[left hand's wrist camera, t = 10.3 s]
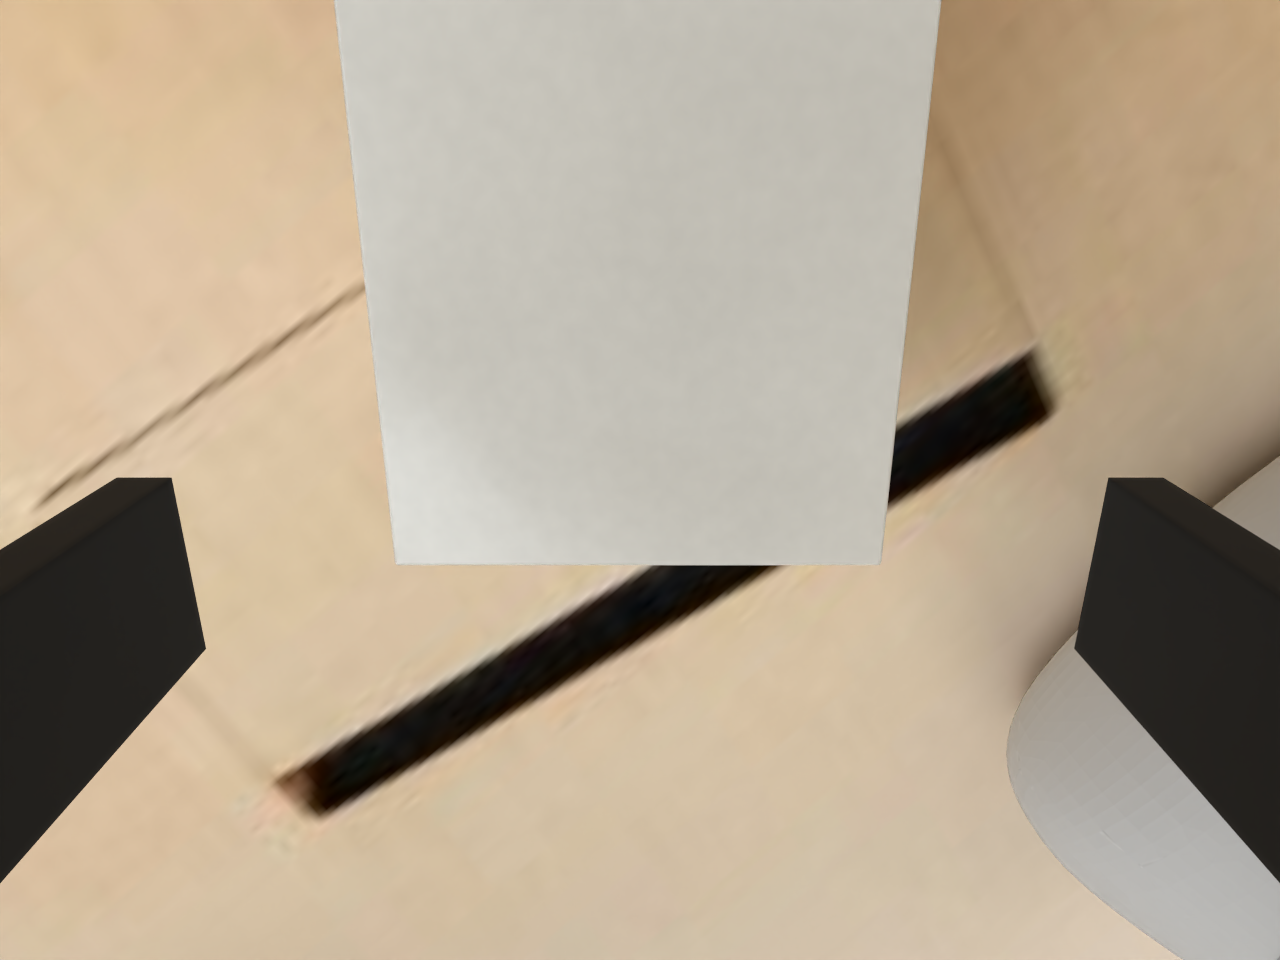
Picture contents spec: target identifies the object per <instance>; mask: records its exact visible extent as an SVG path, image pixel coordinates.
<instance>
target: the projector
mask: <svg viewBox="0 0 1280 960" xmlns="http://www.w3.org/2000/svg"><path fill="white" fill-rule="evenodd" d="M1212 508H1213V509H1215V510H1216V511H1218V512H1219V513H1221V514H1223V515H1224V516H1226V517H1227V518H1229V519H1231V520H1232V521H1234V522H1236V523H1237V524H1239V525H1240V526H1242V527H1244V528H1245V529H1247V530H1248V531H1250V532H1252V533H1253V534H1255V535H1257V536H1258V537H1260V538H1261V539H1263V540H1265V541H1266V542H1268V543H1269V544H1271V545H1273V546H1274V547H1276V548H1278V549H1279V550H1280V456H1279V457H1278V458H1276V459H1275V460H1273V461H1272V462H1271V463H1269V464H1268V465H1267V466H1265V467H1264V468H1263V469H1261V470H1260V471H1259V472H1257V473H1256V474H1255V475H1253V476H1252V477H1251V478H1249V479H1248V480H1247V481H1245V482H1244V483H1243V484H1241V485H1240V486H1239V487H1237V488H1236V489H1235V490H1234V491H1232V492H1231V493H1230V494H1229V495H1227V496H1226V497H1225V498H1224V499H1222V500H1221V501H1220V502H1219V503H1217V504H1216V505H1215V506H1214V507H1212ZM1077 632H1078V630H1077V631H1076V632H1075V633H1074V634H1073V635H1072V636H1071V637H1070V638H1069V640H1068V641H1067V642H1066V643H1065V644H1064V645H1063V646H1062V647H1061V648H1060V649H1059V650H1058V651H1057V653H1056V654H1055V655H1054V656H1053V657H1052V659H1051V660H1050V661H1049V662H1048V664H1047V665H1046V666H1045V667H1044V668H1043V670H1042V671H1041V672H1040V673H1039V675H1038V676H1037V677H1036V679H1035V680H1034V682H1033V683H1032V685H1031V686H1030V688H1029V689H1028V691H1027V692H1026V694H1025V695H1024V697H1023V699H1022V701H1021V703H1020V705H1019V707H1018V709H1017V711H1016V713H1015V715H1014V718H1013V721H1012V724H1011V726H1010V730H1009V736H1008V742H1007V767H1008V772H1009V777H1010V781H1011V785H1012V787H1013V790H1014V793H1015V795H1016V798H1017V800H1018V802H1019V804H1020V806H1021V808H1022V809H1023V811H1024V813H1025V815H1026V817H1027V818H1028V820H1029V822H1030V823H1031V825H1032V826H1033V828H1034V829H1035V831H1036V832H1037V834H1038V835H1039V837H1040V838H1041V840H1042V841H1043V842H1044V844H1045V845H1046V846H1047V847H1048V848H1049V850H1050V851H1051V852H1052V853H1053V855H1054V856H1055V857H1056V858H1057V859H1058V860H1059V861H1060V863H1061V864H1062V865H1063V866H1064V867H1065V868H1066V869H1067V870H1068V871H1069V872H1070V873H1071V874H1072V875H1073V876H1074V877H1076V878H1077V879H1078V880H1079V881H1080V882H1081V883H1082V884H1083V885H1084V886H1085V887H1086V888H1088V889H1089V890H1090V891H1091V892H1092V893H1094V894H1095V895H1096V896H1097V897H1098V898H1100V899H1101V900H1102V901H1103V902H1104V903H1106V904H1107V905H1108V906H1109V907H1111V908H1112V909H1113V910H1114V911H1116V912H1117V913H1118V914H1120V915H1121V916H1122V917H1124V918H1125V919H1126V920H1128V921H1129V922H1130V923H1132V924H1133V925H1134V926H1136V927H1137V928H1138V929H1140V930H1141V931H1142V932H1144V933H1145V934H1147V935H1148V936H1149V937H1151V938H1152V939H1154V940H1155V941H1156V942H1158V943H1159V944H1161V945H1162V946H1164V947H1165V948H1166V949H1168V950H1169V951H1171V952H1172V953H1174V954H1175V955H1176V956H1178V957H1180V958H1181V959H1183V960H1280V883H1279V882H1278V881H1277V879H1276V878H1275V877H1274V876H1273V875H1272V874H1271V873H1270V871H1269V870H1268V869H1267V868H1266V867H1265V866H1264V865H1263V863H1262V862H1261V861H1260V860H1259V859H1258V858H1257V857H1256V855H1255V854H1254V853H1253V852H1252V851H1251V850H1250V849H1249V847H1248V846H1247V845H1246V844H1245V843H1244V842H1243V841H1242V840H1241V838H1240V837H1239V836H1238V835H1237V834H1236V833H1235V832H1234V830H1233V829H1232V828H1231V827H1230V826H1229V825H1228V824H1227V822H1226V821H1225V820H1224V819H1223V818H1222V817H1221V816H1220V814H1219V813H1218V812H1217V811H1216V810H1215V809H1214V808H1213V806H1212V805H1211V804H1210V803H1209V802H1208V801H1207V800H1206V798H1205V797H1204V796H1203V795H1202V794H1201V793H1200V792H1199V791H1198V789H1197V788H1196V787H1195V786H1194V785H1193V784H1192V783H1191V781H1190V780H1189V779H1188V778H1187V777H1186V776H1185V775H1184V773H1183V772H1182V771H1181V770H1180V769H1179V768H1178V767H1177V765H1176V764H1175V763H1174V762H1173V761H1172V760H1171V759H1170V757H1169V756H1168V755H1167V754H1166V753H1165V752H1164V751H1163V749H1162V748H1161V747H1160V746H1159V745H1158V744H1157V743H1156V741H1155V740H1154V739H1153V738H1152V737H1151V736H1150V735H1149V734H1148V732H1147V731H1146V730H1145V729H1144V728H1143V727H1142V726H1141V724H1140V723H1139V722H1138V721H1137V720H1136V719H1135V718H1134V716H1133V715H1132V714H1131V713H1130V712H1129V711H1128V710H1127V708H1126V707H1125V706H1124V705H1123V704H1122V703H1121V702H1120V700H1119V699H1118V698H1117V697H1116V696H1115V695H1114V694H1113V692H1112V691H1111V690H1110V689H1109V688H1108V687H1107V686H1106V684H1105V683H1104V682H1103V681H1102V680H1101V679H1100V678H1099V677H1098V675H1097V674H1096V673H1095V672H1094V671H1093V670H1092V669H1091V667H1090V666H1089V665H1088V664H1087V663H1086V662H1085V661H1084V659H1083V658H1082V657H1081V656H1080V655H1079V654H1078V653H1077V651H1076V650H1075V649H1074V647H1075V642H1076V637H1077Z"/></svg>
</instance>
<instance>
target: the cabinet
mask: <svg viewBox="0 0 1280 960" xmlns="http://www.w3.org/2000/svg"><path fill="white" fill-rule="evenodd" d="M334 6H335V15H336V25H337V34H338V43H339V52H340V61H341V70H342V80H343V89H344V98H345V107H346V116H347V126H348V135H349V144H350V153H351V162H352V171H353V181H354V190H355V199H356V208H357V217H358V226H359V236H360V245H361V254H362V263H363V272H364V281H365V291H366V300H367V309H368V318H369V327H370V337H371V346H372V355H373V364H374V373H375V382H376V392H377V401H378V410H379V419H380V428H381V437H382V447H383V456H384V465H385V474H386V483H387V492H388V502H389V511H390V520H391V529H392V538H393V548H394V557H395V563H396V564H397V565H880V563H881V559H882V550H883V541H884V531H885V522H886V513H887V503H888V494H889V485H890V475H891V466H892V457H893V447H894V438H895V429H896V419H897V410H898V401H899V391H900V382H901V373H902V363H903V354H904V345H905V335H906V326H907V317H908V307H909V298H910V289H911V279H912V270H913V261H914V251H915V242H916V233H917V223H918V214H919V205H920V195H921V186H922V177H923V167H924V158H925V149H926V139H927V130H928V121H929V111H930V102H931V93H932V83H933V74H934V65H935V55H936V46H937V37H938V27H939V18H940V9H941V0H334Z"/></svg>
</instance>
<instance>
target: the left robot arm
mask: <svg viewBox="0 0 1280 960" xmlns="http://www.w3.org/2000/svg"><path fill="white" fill-rule="evenodd" d="M205 649H206V647H205V642H204V637H203V632H202V627H201V622H200V617H199V612H198V607H197V602H196V597H195V592H194V587H193V582H192V577H191V572H190V567H189V562H188V557H187V552H186V547H185V543H184V538H183V533H182V528H181V523H180V518H179V513H178V508H177V503H176V498H175V493H174V488H173V483H172V478H116V479H114V480H112V481H111V482H109V483H107V484H106V485H104V486H103V487H101V488H99V489H98V490H96V491H95V492H93V493H91V494H90V495H88V496H86V497H85V498H83V499H82V500H80V501H78V502H77V503H75V504H74V505H72V506H70V507H69V508H67V509H65V510H64V511H62V512H61V513H59V514H57V515H56V516H54V517H53V518H51V519H49V520H48V521H46V522H44V523H43V524H41V525H40V526H38V527H36V528H35V529H33V530H32V531H30V532H28V533H27V534H25V535H23V536H22V537H20V538H19V539H17V540H15V541H14V542H12V543H11V544H9V545H7V546H6V547H4V548H2V549H1V550H0V883H1V882H2V881H3V879H4V878H5V877H6V876H7V875H8V874H9V873H10V871H11V870H12V869H13V868H14V867H15V866H16V865H17V863H18V862H19V861H20V860H21V859H22V858H23V857H24V855H25V854H26V853H27V852H28V851H29V850H30V849H31V847H32V846H33V845H34V844H35V843H36V842H37V841H38V840H39V838H40V837H41V836H42V835H43V834H44V833H45V832H46V830H47V829H48V828H49V827H50V826H51V825H52V824H53V822H54V821H55V820H56V819H57V818H58V817H59V816H60V814H61V813H62V812H63V811H64V810H65V809H66V808H67V806H68V805H69V804H70V803H71V802H72V801H73V800H74V798H75V797H76V796H77V795H78V794H79V793H80V792H81V791H82V789H83V788H84V787H85V786H86V785H87V784H88V783H89V781H90V780H91V779H92V778H93V777H94V776H95V775H96V773H97V772H98V771H99V770H100V769H101V768H102V767H103V765H104V764H105V763H106V762H107V761H108V760H109V759H110V757H111V756H112V755H113V754H114V753H115V752H116V751H117V749H118V748H119V747H120V746H121V745H122V744H123V743H124V741H125V740H126V739H127V738H128V737H129V736H130V735H131V734H132V732H133V731H134V730H135V729H136V728H137V727H138V726H139V724H140V723H141V722H142V721H143V720H144V719H145V718H146V716H147V715H148V714H149V713H150V712H151V711H152V710H153V708H154V707H155V706H156V705H157V704H158V703H159V702H160V700H161V699H162V698H163V697H164V696H165V695H166V694H167V692H168V691H169V690H170V689H171V688H172V687H173V686H174V684H175V683H176V682H177V681H178V680H179V679H180V678H181V677H182V675H183V674H184V673H185V672H186V671H187V670H188V669H189V667H190V666H191V665H192V664H193V663H194V662H195V661H196V659H197V658H198V657H199V656H200V655H201V654H202V653H203V651H204V650H205ZM1074 649H1075V650H1076V651H1077V653H1078V654H1079V655H1080V656H1081V657H1082V658H1083V659H1084V661H1085V662H1086V663H1087V664H1088V665H1089V666H1090V667H1091V669H1092V670H1093V671H1094V672H1095V673H1096V674H1097V675H1098V677H1099V678H1100V679H1101V680H1102V681H1103V682H1104V683H1105V684H1106V686H1107V687H1108V688H1109V689H1110V690H1111V691H1112V692H1113V694H1114V695H1115V696H1116V697H1117V698H1118V699H1119V700H1120V702H1121V703H1122V704H1123V705H1124V706H1125V707H1126V708H1127V710H1128V711H1129V712H1130V713H1131V714H1132V715H1133V716H1134V718H1135V719H1136V720H1137V721H1138V722H1139V723H1140V724H1141V726H1142V727H1143V728H1144V729H1145V730H1146V731H1147V732H1148V734H1149V735H1150V736H1151V737H1152V738H1153V739H1154V740H1155V741H1156V743H1157V744H1158V745H1159V746H1160V747H1161V748H1162V749H1163V751H1164V752H1165V753H1166V754H1167V755H1168V756H1169V757H1170V759H1171V760H1172V761H1173V762H1174V763H1175V764H1176V765H1177V767H1178V768H1179V769H1180V770H1181V771H1182V772H1183V773H1184V775H1185V776H1186V777H1187V778H1188V779H1189V780H1190V781H1191V783H1192V784H1193V785H1194V786H1195V787H1196V788H1197V789H1198V791H1199V792H1200V793H1201V794H1202V795H1203V796H1204V797H1205V798H1206V800H1207V801H1208V802H1209V803H1210V804H1211V805H1212V806H1213V808H1214V809H1215V810H1216V811H1217V812H1218V813H1219V814H1220V816H1221V817H1222V818H1223V819H1224V820H1225V821H1226V822H1227V824H1228V825H1229V826H1230V827H1231V828H1232V829H1233V830H1234V832H1235V833H1236V834H1237V835H1238V836H1239V837H1240V838H1241V840H1242V841H1243V842H1244V843H1245V844H1246V845H1247V846H1248V847H1249V849H1250V850H1251V851H1252V852H1253V853H1254V854H1255V855H1256V857H1257V858H1258V859H1259V860H1260V861H1261V862H1262V863H1263V865H1264V866H1265V867H1266V868H1267V869H1268V870H1269V871H1270V873H1271V874H1272V875H1273V876H1274V877H1275V878H1276V879H1277V881H1278V882H1279V883H1280V550H1279V549H1278V548H1276V547H1274V546H1273V545H1271V544H1269V543H1268V542H1266V541H1265V540H1263V539H1261V538H1260V537H1258V536H1257V535H1255V534H1253V533H1252V532H1250V531H1248V530H1247V529H1245V528H1244V527H1242V526H1240V525H1239V524H1237V523H1236V522H1234V521H1232V520H1231V519H1229V518H1227V517H1226V516H1224V515H1223V514H1221V513H1219V512H1218V511H1216V510H1215V509H1213V508H1211V507H1210V506H1208V505H1206V504H1205V503H1203V502H1202V501H1200V500H1198V499H1197V498H1195V497H1194V496H1192V495H1190V494H1189V493H1187V492H1185V491H1184V490H1182V489H1181V488H1179V487H1177V486H1176V485H1174V484H1173V483H1171V482H1169V481H1168V480H1166V479H1164V478H1108V483H1107V488H1106V493H1105V498H1104V503H1103V508H1102V513H1101V518H1100V523H1099V528H1098V533H1097V538H1096V543H1095V547H1094V552H1093V557H1092V562H1091V567H1090V572H1089V577H1088V582H1087V587H1086V592H1085V597H1084V602H1083V607H1082V612H1081V617H1080V622H1079V627H1078V632H1077V637H1076V642H1075V647H1074Z"/></svg>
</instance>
